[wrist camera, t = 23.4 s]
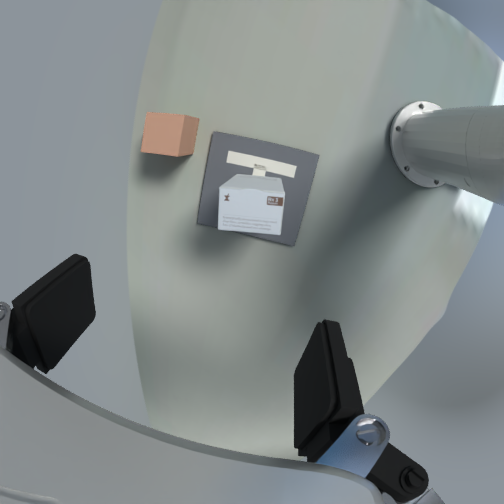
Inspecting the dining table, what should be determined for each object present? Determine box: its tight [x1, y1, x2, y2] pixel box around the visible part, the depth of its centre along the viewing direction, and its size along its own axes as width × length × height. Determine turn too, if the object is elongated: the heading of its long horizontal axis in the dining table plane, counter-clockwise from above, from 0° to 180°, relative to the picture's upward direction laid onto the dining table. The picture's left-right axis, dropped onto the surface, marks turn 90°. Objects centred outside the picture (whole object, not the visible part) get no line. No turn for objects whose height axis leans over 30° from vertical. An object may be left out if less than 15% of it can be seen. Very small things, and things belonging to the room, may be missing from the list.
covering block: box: [141, 112, 199, 157], centre depth 31 cm, size 5×5×6 cm
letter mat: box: [197, 132, 319, 246], centre depth 35 cm, size 14×13×1 cm
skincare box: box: [218, 174, 285, 235], centre depth 30 cm, size 6×4×12 cm
